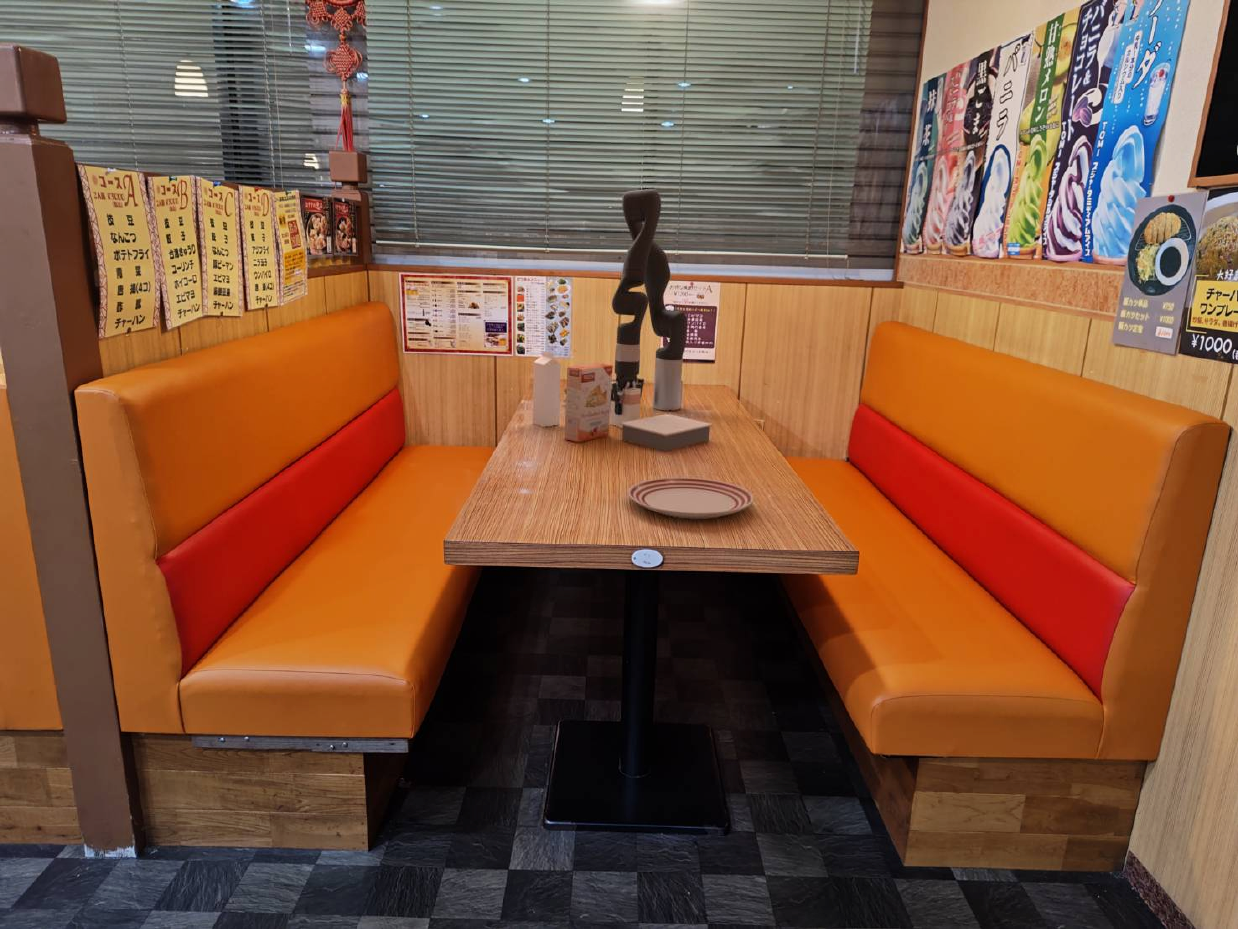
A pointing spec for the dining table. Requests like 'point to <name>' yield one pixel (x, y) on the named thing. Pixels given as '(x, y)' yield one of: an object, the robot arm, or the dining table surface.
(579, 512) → the dining table surface
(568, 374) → the cracker box
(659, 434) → the plate
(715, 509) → the dinner plate
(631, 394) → the cream carton
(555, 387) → the milk
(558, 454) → the dining table surface
